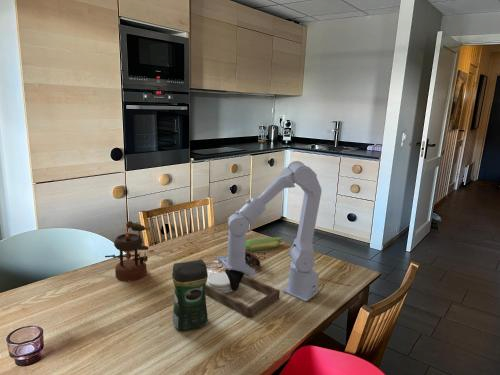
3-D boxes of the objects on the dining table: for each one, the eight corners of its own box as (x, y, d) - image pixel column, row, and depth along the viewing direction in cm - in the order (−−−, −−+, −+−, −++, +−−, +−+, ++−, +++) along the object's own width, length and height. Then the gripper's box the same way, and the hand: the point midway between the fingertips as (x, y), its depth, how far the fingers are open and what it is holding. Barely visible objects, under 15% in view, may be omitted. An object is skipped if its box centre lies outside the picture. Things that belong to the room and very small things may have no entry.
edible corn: (241, 239, 155) (246, 240, 151) (281, 235, 164) (286, 236, 160) (242, 251, 155) (246, 252, 151) (282, 246, 164) (287, 247, 159)
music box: (148, 264, 137) (148, 215, 131) (153, 280, 128) (153, 228, 121) (105, 270, 131) (102, 219, 125) (106, 287, 121) (104, 232, 115)
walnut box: (279, 298, 118) (279, 290, 117) (249, 318, 107) (250, 309, 106) (233, 277, 130) (234, 270, 129) (202, 293, 119) (203, 285, 118)
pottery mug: (264, 276, 134) (256, 260, 130) (241, 285, 135) (232, 270, 131) (260, 255, 144) (252, 240, 140) (238, 263, 145) (230, 249, 141)
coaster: (210, 296, 117) (210, 286, 117) (203, 281, 127) (203, 272, 126) (239, 292, 121) (240, 282, 120) (231, 278, 130) (231, 269, 129)
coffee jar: (201, 311, 109) (202, 254, 104) (210, 326, 102) (211, 266, 97) (169, 318, 105) (169, 259, 100) (176, 334, 98) (176, 271, 93)
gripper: (211, 247, 118) (210, 285, 121) (245, 261, 109) (243, 302, 112) (226, 242, 123) (225, 278, 126) (260, 254, 114) (257, 293, 118)
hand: (234, 289), depth 120 cm, fingers closed
